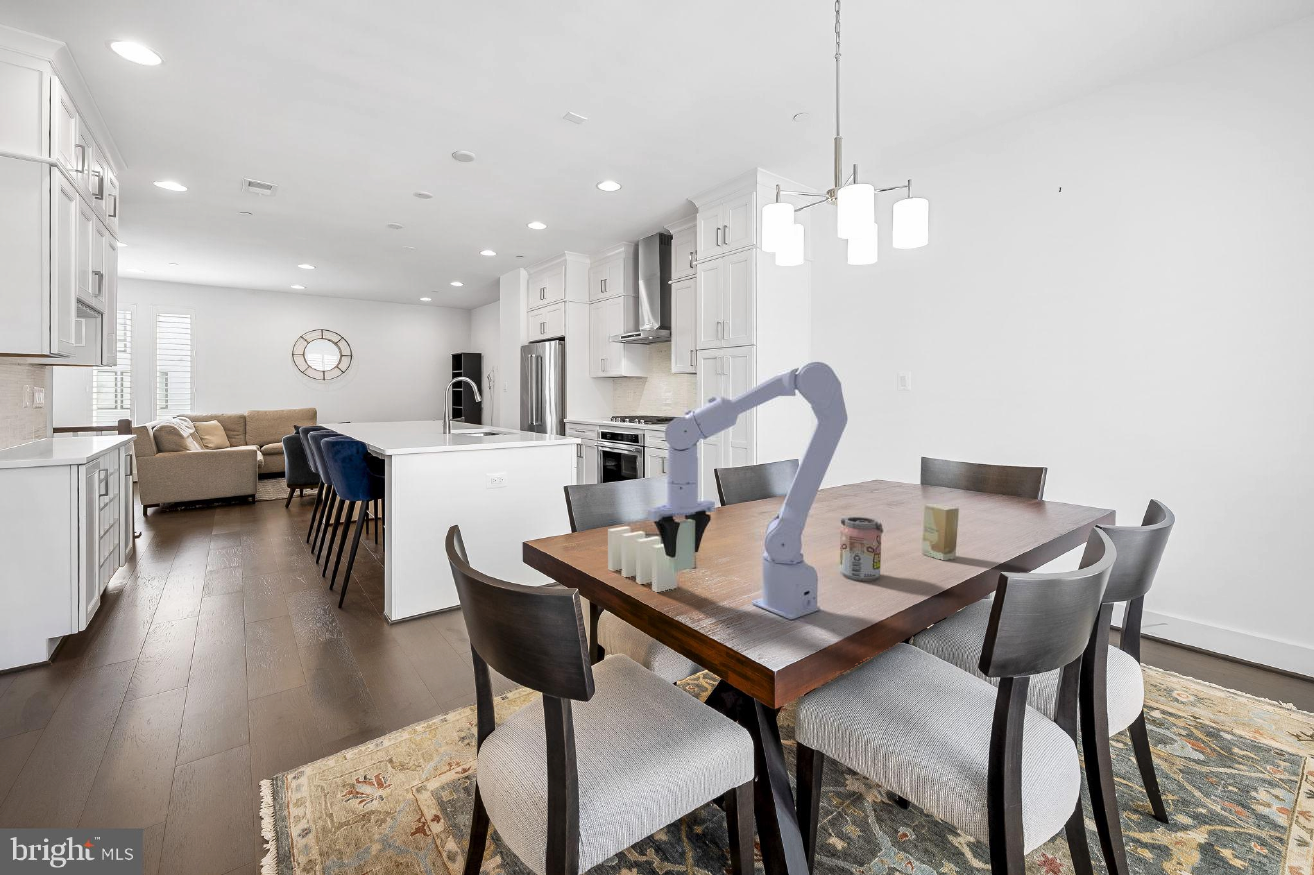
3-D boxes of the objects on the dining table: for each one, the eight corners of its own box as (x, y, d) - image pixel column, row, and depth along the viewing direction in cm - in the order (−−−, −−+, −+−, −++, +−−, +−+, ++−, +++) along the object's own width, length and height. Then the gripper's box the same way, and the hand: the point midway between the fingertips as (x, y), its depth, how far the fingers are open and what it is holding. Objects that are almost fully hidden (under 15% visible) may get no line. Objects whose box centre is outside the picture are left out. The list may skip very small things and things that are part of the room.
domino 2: (645, 573, 120) (645, 532, 119) (625, 578, 117) (625, 536, 116) (641, 571, 121) (640, 531, 120) (621, 576, 118) (621, 534, 117)
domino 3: (660, 580, 115) (660, 537, 115) (640, 585, 112) (640, 541, 112) (656, 578, 117) (656, 536, 116) (636, 583, 114) (636, 539, 113)
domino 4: (677, 588, 111) (677, 543, 110) (656, 593, 108) (656, 547, 107) (672, 585, 112) (672, 541, 112) (651, 591, 109) (651, 545, 109)
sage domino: (694, 567, 106) (695, 520, 105) (674, 572, 103) (674, 524, 103) (689, 565, 107) (689, 519, 107) (668, 570, 105) (668, 522, 104)
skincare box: (920, 554, 135) (922, 504, 134) (933, 552, 136) (935, 502, 135) (944, 561, 129) (946, 509, 128) (957, 559, 131) (959, 507, 130)
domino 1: (630, 567, 124) (630, 527, 124) (612, 571, 121) (611, 530, 121) (626, 565, 126) (626, 526, 125) (608, 569, 122) (607, 529, 122)
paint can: (845, 566, 125) (846, 513, 124) (885, 572, 121) (887, 517, 120) (834, 577, 117) (835, 521, 116) (876, 584, 113) (878, 526, 112)
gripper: (698, 476, 112) (697, 543, 113) (638, 482, 103) (638, 555, 104) (722, 480, 106) (721, 550, 107) (661, 487, 97) (660, 564, 98)
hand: (682, 553), depth 105 cm, fingers closed on sage domino, 5 cm apart
